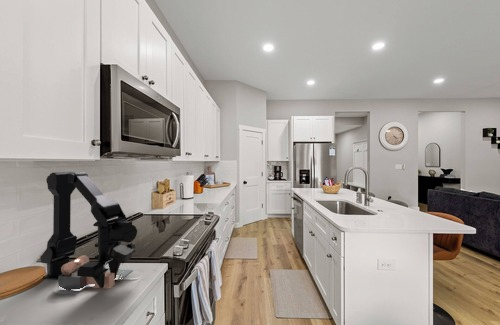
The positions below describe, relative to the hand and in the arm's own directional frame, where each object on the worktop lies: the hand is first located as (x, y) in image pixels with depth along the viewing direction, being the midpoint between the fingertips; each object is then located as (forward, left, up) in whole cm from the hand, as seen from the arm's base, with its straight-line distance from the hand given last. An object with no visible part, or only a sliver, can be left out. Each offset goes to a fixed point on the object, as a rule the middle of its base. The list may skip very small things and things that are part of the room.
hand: (108, 283), depth 76 cm
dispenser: (-11, 0, -1) cm, 11 cm away
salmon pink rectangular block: (-3, 0, -1) cm, 4 cm away
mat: (-4, +7, -1) cm, 8 cm away
